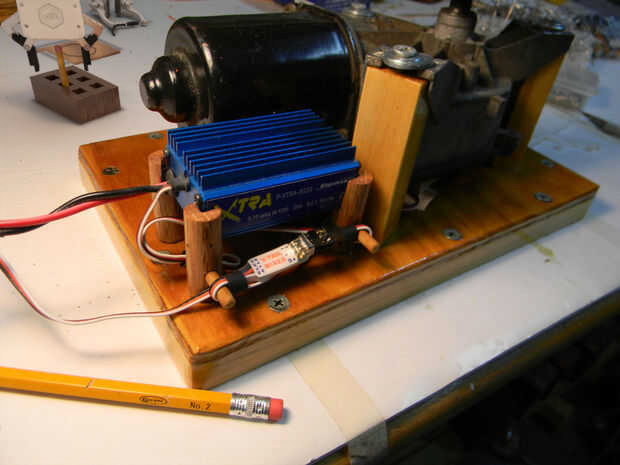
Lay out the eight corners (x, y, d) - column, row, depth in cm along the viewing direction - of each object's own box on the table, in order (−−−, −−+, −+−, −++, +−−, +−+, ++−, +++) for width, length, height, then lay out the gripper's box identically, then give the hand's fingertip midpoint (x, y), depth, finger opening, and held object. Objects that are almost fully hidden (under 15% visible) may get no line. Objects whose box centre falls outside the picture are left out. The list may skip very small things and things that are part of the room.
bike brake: (83, 10, 141) (113, 43, 133) (81, -14, 136) (112, 19, 128) (127, 7, 149) (158, 38, 141) (127, -15, 144) (159, 16, 136)
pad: (66, 67, 112) (65, 64, 112) (33, 52, 116) (33, 49, 116) (120, 52, 123) (120, 50, 123) (89, 39, 127) (88, 36, 127)
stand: (81, 128, 92) (75, 100, 89) (36, 104, 97) (29, 76, 93) (121, 113, 99) (118, 86, 95) (77, 91, 104) (72, 64, 100)
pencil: (70, 114, 96) (56, 47, 87) (66, 112, 97) (52, 45, 88) (75, 112, 97) (62, 46, 88) (71, 110, 97) (58, 44, 89)
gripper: (-21, -31, 74) (9, 78, 85) (99, -24, 81) (112, 75, 92) (-17, -42, 79) (11, 61, 90) (96, -35, 86) (109, 60, 97)
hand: (62, 68), depth 91 cm, fingers open, 8 cm apart
